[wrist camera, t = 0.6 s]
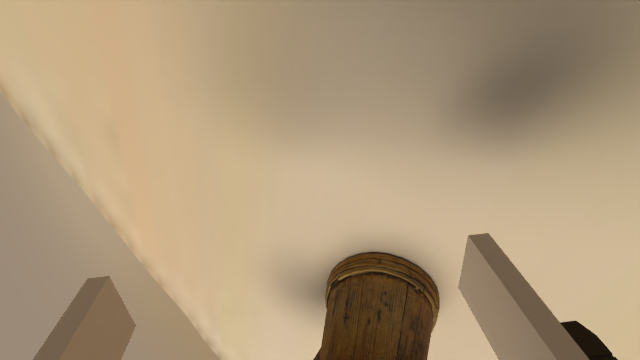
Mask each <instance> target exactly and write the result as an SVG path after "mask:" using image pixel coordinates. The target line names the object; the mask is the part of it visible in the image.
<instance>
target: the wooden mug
mask: <svg viewBox="0 0 640 360" xmlns="http://www.w3.org/2000/svg"><path fill="white" fill-rule="evenodd" d="M325 300H326V309H327V312H326V319H325V326H324V333H323V339H322V346H321V348H320V350H319V352H318V353H317V355H316V357H315V358H314V360H427V356H428V349H429V343H430V337H431V333H432V331H433V328H434V326H435V324H436V321H437V316H438V312H439V294H438V291H437V288H436V286H435V284H434V283H433V281H432V280H431V278H430V277H429V276H428V275H427V274H426V273H424V272H423V271H422V270H421V269H420V268H419V267H417V266H415V265H413V264H411V263H409V262H407V261H406V260H403V259H400V258H397V257H394V256H391V255H386V254H379V253H367V254H359V255H356V256H354V257H351V258H348V259H346V260H345V261H343V262H341V263H340V264H339V265H338V266H337V267H336V268H335V269H334V270H333V271H332V272H331V274H330V277H329V279H328V282H327V290H326V297H325Z"/></svg>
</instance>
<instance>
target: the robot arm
mask: <svg viewBox="0 0 640 360" xmlns="http://www.w3.org/2000/svg"><path fill="white" fill-rule="evenodd" d="M458 288H459V289H460V291H461V293H462V295H463V297H464V298H465V300H466V302H467V304H468V306H469V307H470V309H471V311H472V313H473V314H474V316H475V318H476V320H477V322H478V323H479V325H480V327H481V329H482V331H483V332H484V334H485V336H486V338H487V339H488V341H489V343H490V345H491V347H492V348H493V350H494V352H495V354H496V356H497V357H498V359H499V360H617V358H616V357H613V356H612V353H611V352H610V350H609V349H608V348H607V347H606V346H605V345H604V344H603V342H602V341H601V340H600V339H599V338H598V337H597V336H596V335H595V334H594V333H592V332H591V331H590V330H588V329H587V328H585V327H584V326H583V325H581V324H580V323H579V322H577V321H570V322H562V323H560V322H559V321H558V320H557V318H556V317H555V316H554V315H553V313H552V312H551V311H550V310H549V308H548V307H547V306H546V305H545V303H544V302H543V301H542V300H541V298H540V297H539V296H538V295H537V293H536V292H535V291H534V290H533V288H532V287H531V286H530V285H529V283H528V282H527V281H526V280H525V278H524V277H523V276H522V275H521V273H520V272H519V271H518V270H517V268H516V267H515V266H514V265H513V263H512V262H511V261H510V260H509V258H508V257H507V256H506V255H505V253H504V252H503V251H502V250H501V248H500V247H499V246H498V245H497V243H496V242H495V241H494V240H493V238H492V237H491V236H490V235H489V233H486V234H477V235H468V239H467V244H466V250H465V255H464V260H463V265H462V271H461V276H460V281H459V287H458ZM135 327H136V325H135V323H134V321H133V319H132V317H131V316H130V314H129V312H128V310H127V308H126V306H125V304H124V302H123V301H122V299H121V297H120V295H119V293H118V291H117V289H116V288H115V286H114V284H113V282H112V280H111V278H110V277H109V276H106V277H97V278H88V279H87V280H86V282H85V283H84V285H83V286H82V287H81V289H80V290H79V292H78V294H77V295H76V297H75V298H74V299H73V301H72V302H71V304H70V305H69V307H68V308H67V310H66V311H65V313H64V314H63V316H62V317H61V319H60V320H59V322H58V323H57V325H56V326H55V328H54V329H53V331H52V332H51V334H50V335H49V336H48V338H47V339H46V341H45V342H44V344H43V346H42V347H41V348H40V350H39V351H38V353H37V354H36V356H35V357H34V359H33V360H121V359H122V356H123V354H124V352H125V349H126V347H127V345H128V343H129V340H130V338H131V336H132V333H133V331H134V329H135Z"/></svg>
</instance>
